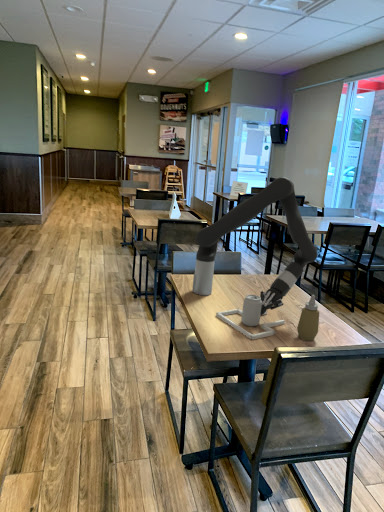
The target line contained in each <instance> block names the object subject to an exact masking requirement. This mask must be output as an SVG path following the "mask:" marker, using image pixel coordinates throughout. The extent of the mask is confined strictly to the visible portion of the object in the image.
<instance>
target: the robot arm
mask: <svg viewBox="0 0 384 512" xmlns="http://www.w3.org/2000/svg"><path fill="white" fill-rule="evenodd" d="M296 197H297V196H296V192H295V184H294V183H293V180H291V179H290V178H288V177H284V176H281V177H277V178H276V179H274V180H273V181H271V182H270V183H269V184H268V185H267V186H265V187H264V188H263V189H262V190H260V191H259V192H258V193H256V194H254V195H252V196H251V197H249V198H247V199H245V200H243V202H240V203H239V204H237V205H236V206H234V207H233V208H232V209H230V210H229V211H228V212H227V213H225V214H224V215H223V216H221V218H219V219H218V220H217V221H216V222H213V223H211V224H210V225H208V226H205V227H203V228H201V229H200V230H198V231H197V233H196V235H195V242H196V244H197V245H198V250H197V252H196V256H195V257H196V258H195V270H194V273H193V278H192V279H193V281H192V289H191V290H192V291H191V292H194V294H196V295H198V294H199V296H209V295H212V293H213V292H212V291H213V281H214V270H215V263H216V262H215V260H216V256H217V251H218V241H219V240H220V239H222V238H223V237H224V236H226V235H227V234H230V233H231V232H233V231H236V230H237V229H239V228H241V227H243V226H244V225H246V224H247V223H249V222H251V221H253V220H254V219H255V218H256V217H258V216H259V215H260V214H261V213H262V212H263V211H264V210H266V208H267V207H269V206H271V205H272V204H274V203H276V202H277V201H279V202H280V204H281V205H282V208H283V211H284V215H285V219H286V220H285V221H286V224H287V227H288V228H287V229H288V231H289V235H290V237H291V240H292V242H293V243H294V244H296V245H297V246H298V248H299V249H297V251H296V252H295V253H294V255H293V256H292V258H291V260H290V262H289V263H288V264H287V265H286V267H284V269H283V270H282V272H281V273H279V275H278V276H277V277H276V278H275V279H274V280H273V282H272V283H271V285H270V287H269V288H268V289H267V290H266V291H263V290H261V291H260V294H259V297H261V301H262V306H261V313H260V316H264V315H263V314H264V313H265V312H266V311H268V310H275V309H277V308H279V307H282V306H284V302H283V299H284V297H286V296H287V294H288V293H289V292H290V290H292V288H293V287H294V286H295V284H296V282H297V281H298V279H299V278H300V277H301V276H302V275H303V273H304V268H305V266H306V265H307V264H309V263H311V264H312V263H314V262H316V260H317V258H318V251H317V248H316V246H315V244H314V242H313V241H312V240H311V238H310V236H309V234H308V231H307V229H306V228H307V227H306V226H305V223H304V220H303V218H302V215H301V212H300V209H299V205H298V202H297V198H296Z"/></svg>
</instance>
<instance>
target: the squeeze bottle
mask: <svg viewBox="0 0 384 512" xmlns="http://www.w3.org/2000/svg"><path fill="white" fill-rule="evenodd" d="M318 308H319V304H318V303H316V295H314V294H311V296H310V299H309V301H308V302H306V303H305V306H304V307H303V308H302V309H301V313H300V316H299V321H298V324H297V329H296V330H297V334H298V338H300V339H301V340H303V341H307V342H311V341H314V340H315V338H316V336H317V335H318V334H319V324H320V323H319V322H320V311H319V309H318Z"/></svg>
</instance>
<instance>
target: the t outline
mask: <svg viewBox="0 0 384 512" xmlns="http://www.w3.org/2000/svg"><path fill="white" fill-rule="evenodd" d="M242 311H243V310H242V309H239V308H235V309H230V310H223V311H218V312H216V313H215V314H216V315H215V316H216V317H217V318H219V319H220V320H222V321H223V322H224V323H226V324H227V323H228V325H229V326H230V325H231V327H232V328H233V327H234V328H233V329H234V330H236V331H238V332H239V331H240V332H239V333H241V334H242V333H243V334H242V335H244V336H245V335H246V336H245V337H247V338H248V337H249V338H248V339H250V340H251V339H253V340H257V339H261V338H265V337H270V336H274V335H275V334H276V330H274V329H273V328H271V327H277V326H281V325H284V324H285V320H284V319H281V320H276V321H272V322H265V323H261V329H263V330H264V331H263V332H258V333H255V334H252V333H250V332H249V331H247V330H246V329H245V328H243V327H242V326H240V325H238V324H237V323H235V322H234V321H232V320H231V319H229V318H228V317H226V316H228V315H233V314H238V315H240V316H242ZM265 315H268V310H266V312H265V313H264V314H263V315H262V316H265Z"/></svg>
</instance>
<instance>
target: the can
mask: <svg viewBox="0 0 384 512" xmlns="http://www.w3.org/2000/svg"><path fill="white" fill-rule="evenodd" d="M261 306H262V301H261V297H260V295H256V294H247V295H245V297H244V298H243V304H242V310H241V311H242V315H241V320H240V321H241V322H242V324H243V325H245V326H247V327H256V326H257V325H259V324H260V321H261V315H260V313H261Z"/></svg>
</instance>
